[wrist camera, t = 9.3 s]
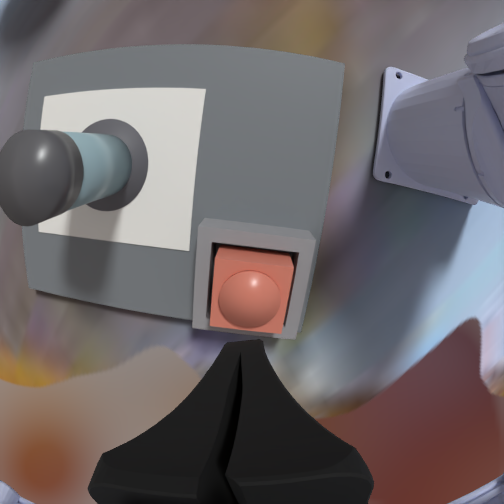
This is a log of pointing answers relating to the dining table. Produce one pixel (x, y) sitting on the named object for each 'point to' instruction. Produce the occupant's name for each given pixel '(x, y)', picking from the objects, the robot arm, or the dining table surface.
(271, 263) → the button
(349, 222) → the dining table surface
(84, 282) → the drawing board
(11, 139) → the salt shaker
